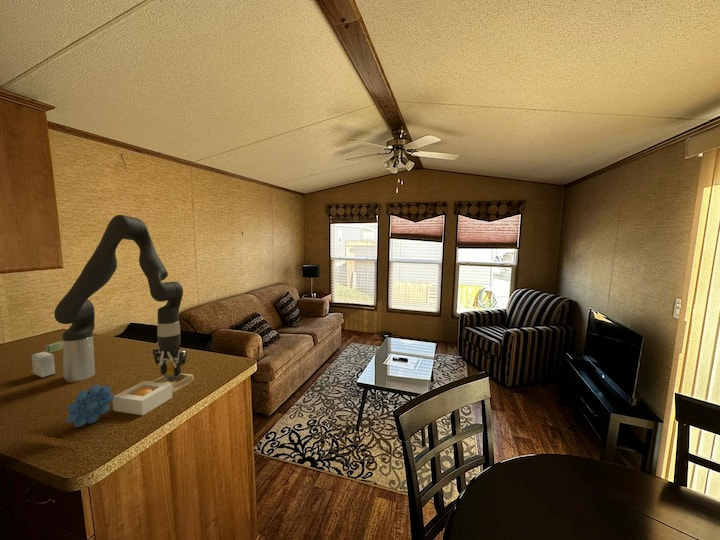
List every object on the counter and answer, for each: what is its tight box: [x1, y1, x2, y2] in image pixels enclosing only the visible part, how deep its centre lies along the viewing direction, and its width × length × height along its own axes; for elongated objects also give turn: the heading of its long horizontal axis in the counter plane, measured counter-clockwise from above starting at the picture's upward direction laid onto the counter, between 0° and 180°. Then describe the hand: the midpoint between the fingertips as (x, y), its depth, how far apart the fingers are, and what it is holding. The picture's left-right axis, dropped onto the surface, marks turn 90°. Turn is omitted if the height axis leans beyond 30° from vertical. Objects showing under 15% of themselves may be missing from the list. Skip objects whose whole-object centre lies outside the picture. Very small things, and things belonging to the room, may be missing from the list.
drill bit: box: [163, 358, 180, 383], centre depth 121 cm, size 5×5×10 cm
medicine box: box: [31, 351, 56, 378], centre depth 129 cm, size 8×4×9 cm, turn 65°
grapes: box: [65, 384, 115, 428], centre depth 96 cm, size 12×7×12 cm, turn 145°
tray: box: [151, 372, 195, 395], centre depth 120 cm, size 11×11×3 cm
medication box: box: [44, 340, 63, 354], centre depth 158 cm, size 12×3×4 cm, turn 169°
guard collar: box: [112, 380, 173, 416], centre depth 107 cm, size 12×12×5 cm
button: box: [135, 387, 152, 396], centre depth 107 cm, size 5×5×4 cm
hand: (170, 374), depth 120 cm, fingers closed on drill bit, 5 cm apart
